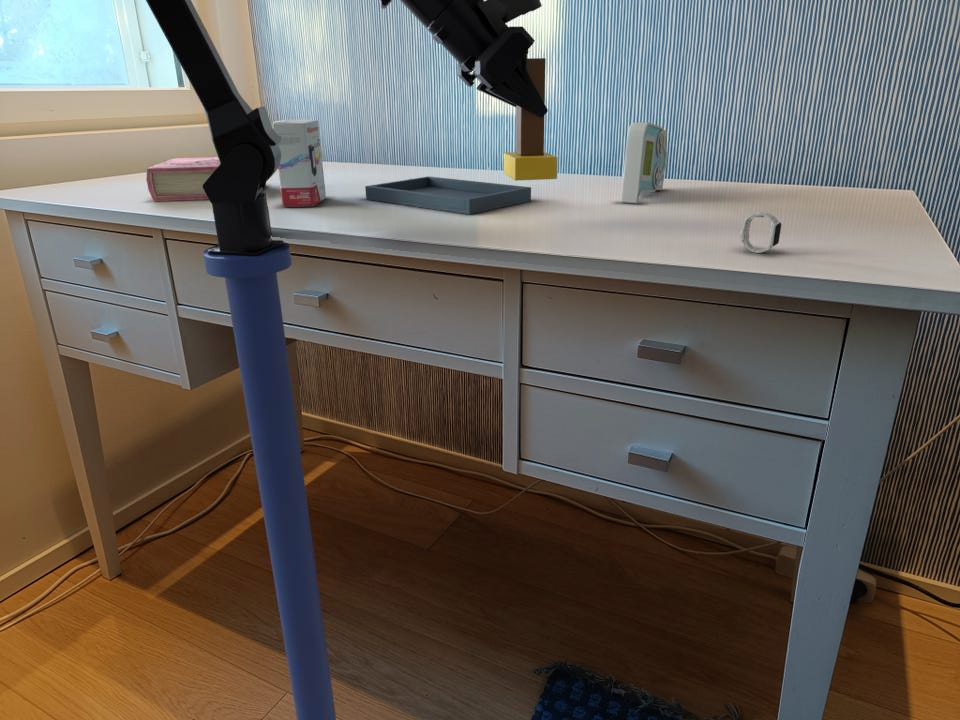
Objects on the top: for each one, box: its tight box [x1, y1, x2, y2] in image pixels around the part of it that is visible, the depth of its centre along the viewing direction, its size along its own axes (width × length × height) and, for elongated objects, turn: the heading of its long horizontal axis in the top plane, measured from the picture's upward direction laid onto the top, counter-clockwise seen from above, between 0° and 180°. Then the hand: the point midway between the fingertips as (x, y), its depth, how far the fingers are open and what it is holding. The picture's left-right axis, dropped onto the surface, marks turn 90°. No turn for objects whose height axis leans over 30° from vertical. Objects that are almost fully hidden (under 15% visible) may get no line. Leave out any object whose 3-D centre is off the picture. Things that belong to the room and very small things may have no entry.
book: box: [145, 156, 221, 202], centre depth 114 cm, size 14×15×5 cm
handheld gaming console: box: [620, 121, 669, 205], centre depth 103 cm, size 11×3×15 cm
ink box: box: [271, 119, 327, 208], centre depth 102 cm, size 9×5×12 cm, turn 179°
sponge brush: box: [503, 57, 558, 182], centre depth 80 cm, size 5×7×13 cm
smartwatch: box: [739, 211, 782, 254], centre depth 70 cm, size 4×2×4 cm, turn 52°
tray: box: [364, 175, 532, 215], centre depth 103 cm, size 22×14×2 cm, turn 49°
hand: (541, 113), depth 80 cm, fingers closed on sponge brush, 3 cm apart
